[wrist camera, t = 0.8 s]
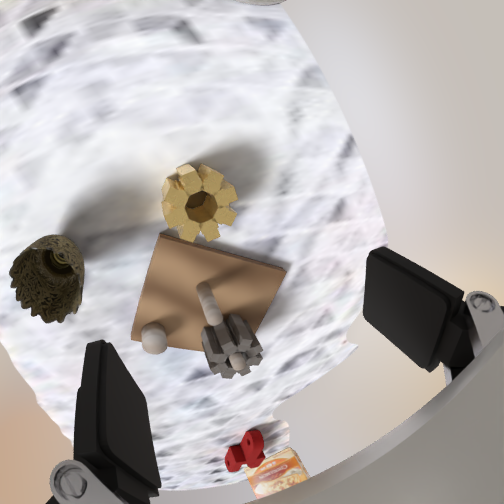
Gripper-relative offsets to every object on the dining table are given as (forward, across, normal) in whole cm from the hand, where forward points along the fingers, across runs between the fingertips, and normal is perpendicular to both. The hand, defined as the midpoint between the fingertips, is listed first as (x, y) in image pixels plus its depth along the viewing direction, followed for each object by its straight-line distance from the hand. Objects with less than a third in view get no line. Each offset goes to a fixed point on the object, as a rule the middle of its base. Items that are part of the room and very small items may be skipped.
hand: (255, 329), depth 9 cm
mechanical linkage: (+25, +2, +56) cm, 61 cm away
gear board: (+22, 0, +13) cm, 26 cm away
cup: (+22, +14, +2) cm, 27 cm away
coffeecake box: (+25, -3, +75) cm, 79 cm away
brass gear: (+22, -2, 0) cm, 22 cm away
